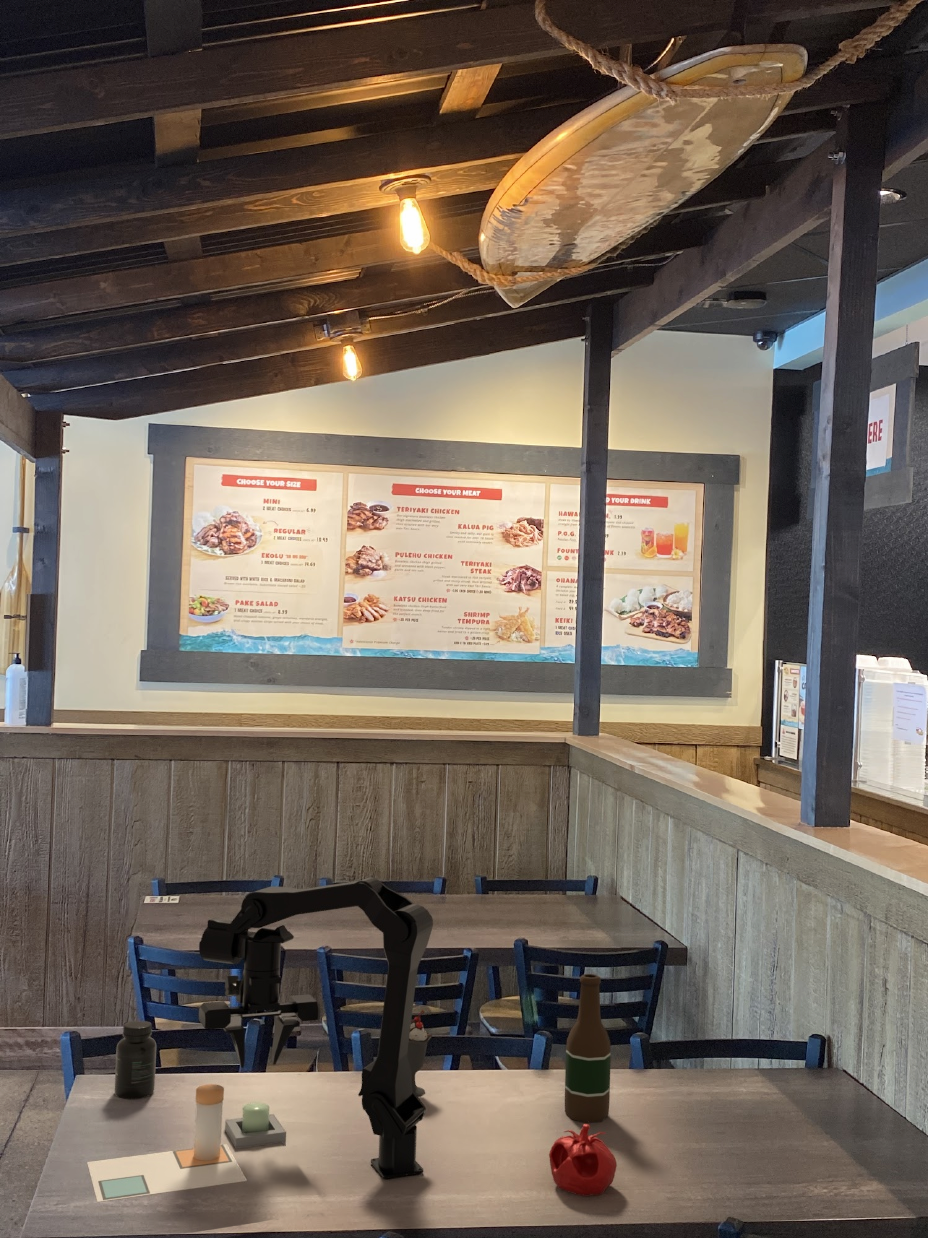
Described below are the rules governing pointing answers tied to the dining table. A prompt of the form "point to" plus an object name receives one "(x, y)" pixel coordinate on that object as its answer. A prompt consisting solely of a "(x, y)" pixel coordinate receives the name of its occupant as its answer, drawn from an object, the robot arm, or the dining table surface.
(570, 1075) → the beer bottle
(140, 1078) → the supplement bottle
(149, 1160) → the colouring mat
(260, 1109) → the button
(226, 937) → the robot arm
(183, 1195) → the dining table surface
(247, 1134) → the button housing
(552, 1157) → the pomegranate
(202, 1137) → the marker
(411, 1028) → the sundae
